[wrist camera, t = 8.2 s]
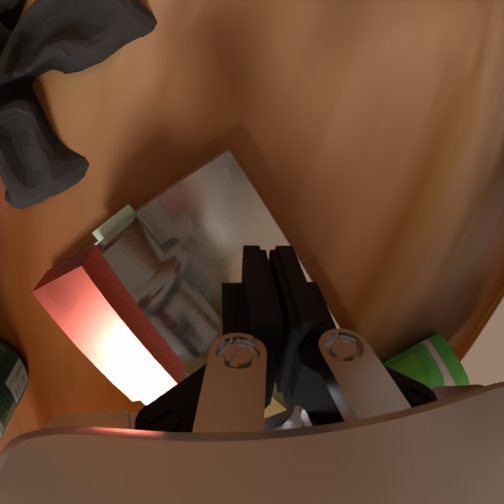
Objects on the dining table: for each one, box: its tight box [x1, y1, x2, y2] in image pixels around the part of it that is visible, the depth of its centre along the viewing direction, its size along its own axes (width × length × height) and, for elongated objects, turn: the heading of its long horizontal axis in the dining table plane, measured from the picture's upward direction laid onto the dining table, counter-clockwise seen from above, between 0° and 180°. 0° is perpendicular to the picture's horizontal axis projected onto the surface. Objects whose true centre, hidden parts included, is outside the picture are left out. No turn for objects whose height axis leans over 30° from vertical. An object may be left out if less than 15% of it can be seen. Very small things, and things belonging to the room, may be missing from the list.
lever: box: [32, 244, 188, 405], centre depth 14 cm, size 14×4×3 cm, turn 22°
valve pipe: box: [81, 146, 341, 431], centre depth 21 cm, size 23×16×7 cm
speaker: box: [383, 334, 469, 390], centre depth 27 cm, size 18×7×8 cm, turn 128°
